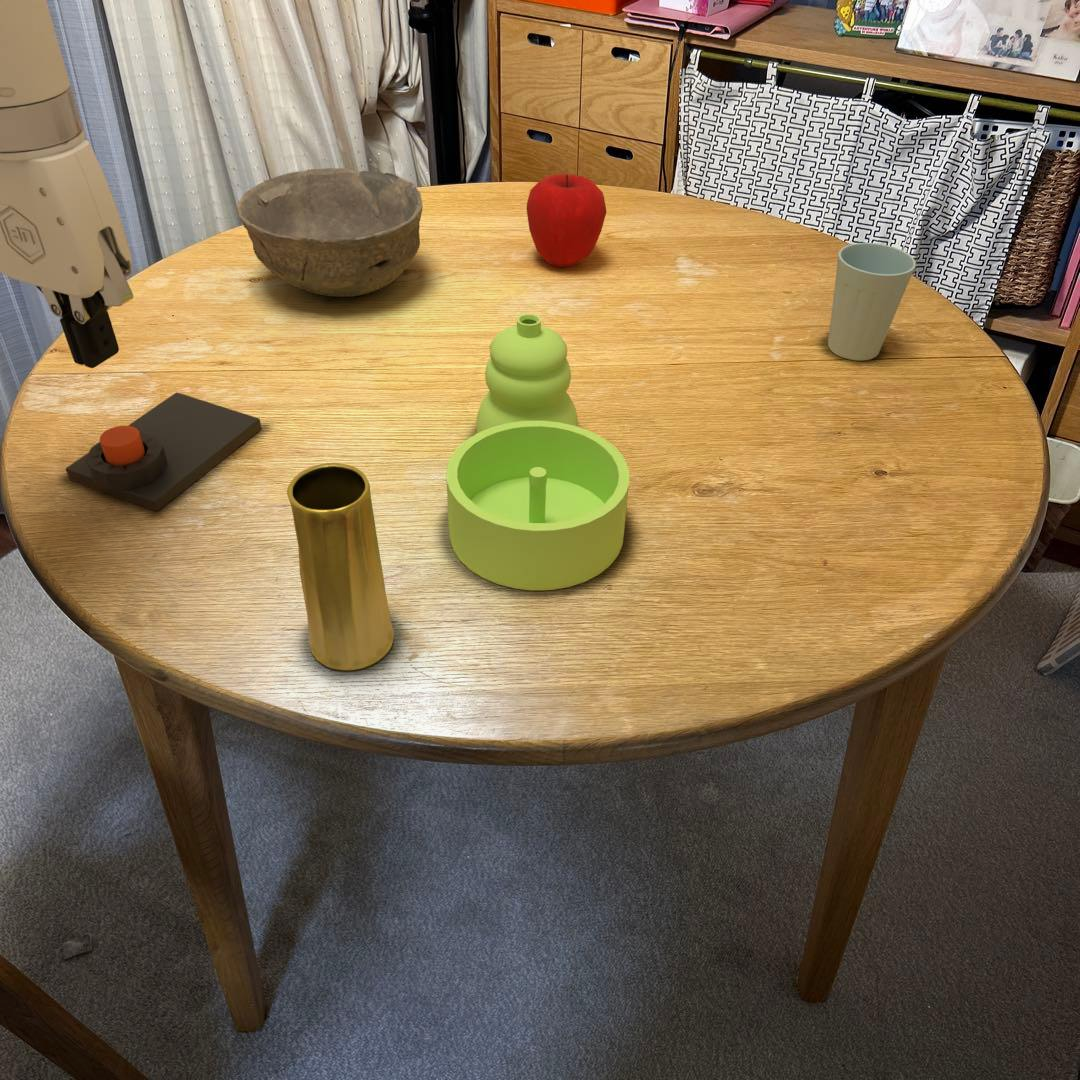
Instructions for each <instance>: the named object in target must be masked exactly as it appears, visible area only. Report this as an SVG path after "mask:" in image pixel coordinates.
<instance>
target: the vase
mask: <svg viewBox="0 0 1080 1080" xmlns="http://www.w3.org/2000/svg"><path fill="white" fill-rule="evenodd" d="M286 495H287V498H288V500H289V503H290V508H291V514H292V517H293V518H292V519H293V526H294V530H295V536H296V540H297V547H298V549H297V550H298V564H299V575H300V581H301V582H300V583H301V588H302V593H303V599H304V606H305V611H306V617H307V626H308V632H309V640H308V641H309V642H308V643H309V649H310V652H311V655H312V656H313V657H314V658H315V659H316V661H317V662H319V663H320V664H322V666H325V667H326V668H329V669H333V670H338V671H355V670H356V671H357V670H361V669H364V668H367V667H370V666H372V665H374V664H376V663H377V662H379V661H380V660H381V659H383V658H384V657H385V656H386V655H387V654H388V652H389V651H390V650H391V648H392V646H393V643H394V639H395V630H394V627H393V625H392V621H391V614H390V608H389V602H388V597H387V590H386V585H385V578H384V571H383V565H382V559H381V554H380V547H379V541H378V534H377V528H376V521H375V515H374V514H375V513H374V509H373V502H372V494H371V484H370V482H369V480H368V477H367V476H366V474H365V473H364V472H363V471H362V470H361V469H360V468H358V467H356V466H353V465H350V464H346V463H340V462H325V463H320V464H315V465H313V466H310V467H308V468H306V469H304V470H302V471H300V472H299V473H297V474H296V475H295V476H294V477H293V478H292V480H291V481H290V483H289V484H288V486H287V489H286Z"/></svg>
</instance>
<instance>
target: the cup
mask: <svg viewBox="0 0 1080 1080" xmlns="http://www.w3.org/2000/svg"><path fill="white" fill-rule="evenodd" d="M836 261H837V263H836V271H835V280H834V288H833V289H834V290H833V297H832V305H831V314H830V323H829V331H828V338H827V339H828V340H827V346H828V349H829V350H830V351H831V352H832V353H833V354H835V355H836V356H839V357H840V358H843V359H846V360H850V361H860V362H861V361H869V360H873V359H874V358H876V357H877V356H879V354H880V351H881V350H882V347H883V345H884V342H885V339H886V337H887V335H888V333H889V330H890V328H891V326H892V324H893V321H894V319H895V316H896V314H897V311H898V309H899V307H900V304H901V301H902V299H903V296H904V294H905V292H906V290H907V287H908V285H909V283H910V280H911V279H912V275H914V271H915V269H916V267H917V266H916V265H917V263H916V260H915V259H914V257H913V256H912V255H911V254H909V253H908V252H906V251H905V250H902V249H900V248H898V247H895V246H891V245H888V244H882V243H876V242H855V243H851V244H848V245H845V246H843V247H842V248H841V249H840V250H839V251H838V254H837V260H836Z"/></svg>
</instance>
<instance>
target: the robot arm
mask: <svg viewBox="0 0 1080 1080" xmlns="http://www.w3.org/2000/svg"><path fill="white" fill-rule="evenodd" d="M85 138H86V133H85V129H84V127H83V123H82V120H81V116H80V112H79V108H78V106H77V103H76V99H75V95H74V92H73V89H72V85H71V83H70V79H69V75H68V71H67V68H66V65H65V61H64V58H63V54H62V50H61V46H60V44H59V40H58V37H57V33H56V30H55V25H54V22H53V19H52V16H51V12H50V9H49V6H48V2H47V0H0V273H1V274H2V275H3V276H6V277H7V278H10V279H13V280H16V281H18V282H21V283H26V284H29V285H33V286H35V288H37V289H38V290H39V291H40V292H41V293H42V295H43V297H44V298H45V301H46V303H47V306H48V307H49V309H50V311H51V313H52V314H53V315H54V316H55V317H57V318H60V319H59V323H60V325H61V328H62V331H63V333H64V337H65V339H66V342H67V345H68V348H69V351H70V354H71V356H72V360H73V362H74V364H76V365H80V366H85V367H87V368H89V369H94V368H96V367H98V366H99V365H100V364H103V363H104V362H106V361H108V360H109V359H111V358H112V357H114V356H116V355H117V354H118V353H119V351H120V347H119V344H118V340H117V337H116V333H115V330H114V327H113V324H112V320H111V317H110V314H109V310H111V309H112V308H113V307H121V306H123V305H125V304H127V303H128V302H130V301H132V300H134V293H133V291H132V289H131V286H130V285H129V283H128V280H127V278H126V277H128V276H130V275H132V273H133V261H132V254H131V250H130V246H129V242H128V239H127V235H126V231H125V228H124V226H123V222H122V219H121V215H120V213H119V209H118V207H117V204H116V202H115V199H114V196H113V194H112V191H111V189H110V187H109V184H108V181H107V179H106V175H105V173H104V172H103V169H102V167H101V165H100V162H99V160H98V158H97V156H96V153H95V152H94V150H93V148H92V145H91V143H90V141H89V140H87V139H85Z"/></svg>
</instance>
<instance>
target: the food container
mask: <svg viewBox="0 0 1080 1080" xmlns="http://www.w3.org/2000/svg"><path fill="white" fill-rule="evenodd" d="M567 357H568V346H567V344H566V342H565V340H564V339H563V337H562V336H561V335H560V334H559V333H558V332H557V331H555V330H553V329H551V328H549V327H547V326H545V325H542V318H541V316H539V315H538V314H534V313H524V314H523V313H522V314H520V315H519V316H517V317H516V324H515V325H511V326H508V327H506V328H505V329H503V330H501V331H500V332H498V333H497V334H496V335H495V337H494V338H493V339H492V341H491V342H490V345H489V359H488V361H487V363H486V366H485V372H484V378H485V383H486V386H487V388H488V391H487V393H486V394H485V396H484V397H483V398H482V400H481V403H480V405H479V407H478V411H477V415H476V433H475V434H474V435H472V436H471V437H468V438H467V439H466V440H464V441H463V442H462V443H461V444H460V445H458V446H457V448H456V449H455V450H454V452H453V453H452V455H451V456H450V457H449V460H448V463H447V465H446V478H445V479H446V494H447V495H446V496H447V517H448V536H449V541H450V545H451V548H452V551H453V552H454V553H455V555H456V557H457V558H458V560H459V561H460V562H461V563H462V564H463V565H464V566H465V567H466V568H467V569H468V570H470V571H471V572H472V573H474V574H476V575H477V576H479V577H480V578H482V579H483V580H486V581H490V582H491V583H494V584H497V585H499V586H503V587H508V588H510V589H516V590H525V591H553V590H554V591H555V590H559V589H564V588H571V587H574V586H576V585H580V584H583V583H585V582H588V581H589V580H591V579H593V578H595V577H597V576H600V575H601V574H602V573H603V572H604V571H605V570H607V569H608V568H609V567H611V565H612V564H613V563H614V562H615V560H617V558H618V556H619V554H620V553H621V551H622V548H623V544H624V537H625V536H624V535H625V526H626V517H627V508H628V507H627V506H628V497H629V487H630V477H631V474H630V469H629V465H628V463H627V461H626V459H625V457H624V455H623V454H622V452H620V451H619V449H617V447H616V446H614V444H612V443H611V442H610V441H608V440H607V439H605V438H604V437H602V436H600V435H599V434H597V433H595V432H593V431H591V430H589V429H585V428H583V427H580V426H579V418H578V412H577V409H576V406H575V404H574V401H573V400H572V397H571V396H570V395H569V393H568V392H567V391H568V389H569V388H570V386H571V385H570V383H571V380H572V371H571V370H572V369H571V366H570V364H569V361H568V359H567Z"/></svg>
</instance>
